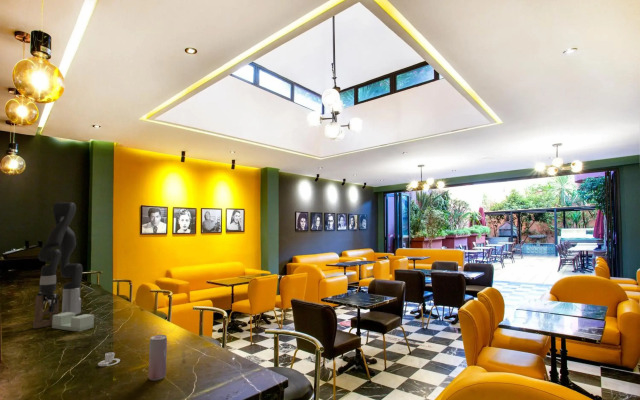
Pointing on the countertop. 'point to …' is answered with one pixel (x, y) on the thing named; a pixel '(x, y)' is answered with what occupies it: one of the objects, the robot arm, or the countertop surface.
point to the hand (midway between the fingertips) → (46, 311)
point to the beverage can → (157, 357)
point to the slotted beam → (73, 321)
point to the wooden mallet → (43, 313)
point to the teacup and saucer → (108, 359)
